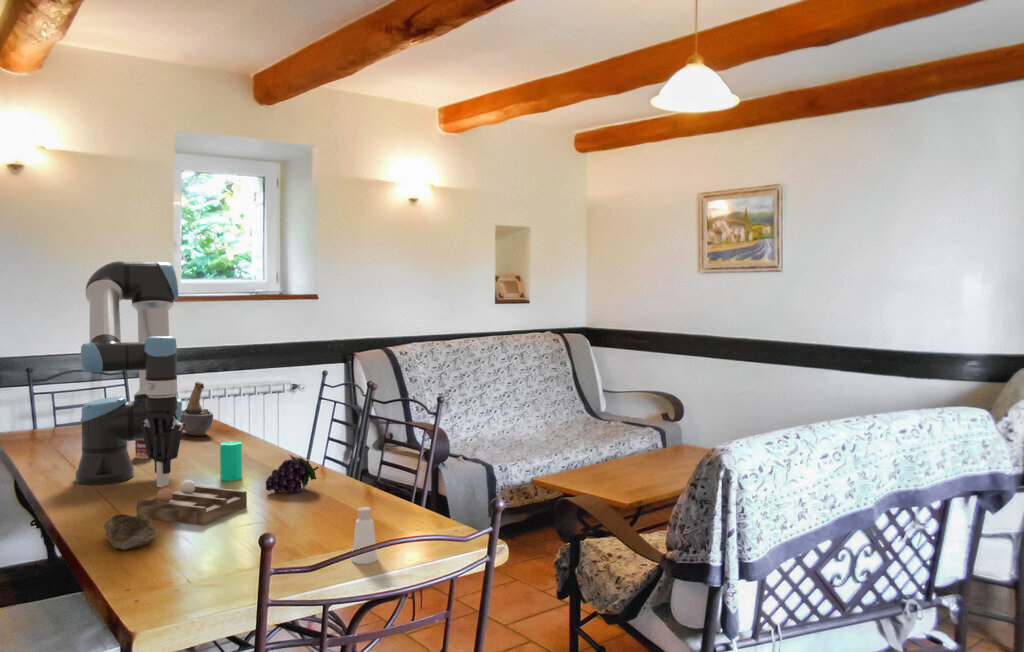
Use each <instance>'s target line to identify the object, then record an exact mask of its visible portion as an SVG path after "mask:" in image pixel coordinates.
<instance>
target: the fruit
mask: <svg viewBox="0 0 1024 652" xmlns="http://www.w3.org/2000/svg"><path fill="white" fill-rule="evenodd" d="M289 457H290V458H291V459H287V460H286V459H285V460H284V461H283V462H282V464H280V465H279V466H278V468H277V469H273V470H272V471H271V475H269V476H268V477H267V478H266V480H265V490H266V491H268V492H270V491H274V492H276V493H280V492H286V493H290V492H291V491H293V493H300V492H301V490H302V489H305V488H306V486H308V483H309V480H311V481H314V480H317V476H316V471H317V470H318V469H319V468H320V467H318V466H316V467H314V468H313V467H312V465H311V464H310V461H309V459H308V460H305V459H304V458H302V457H301V456H299V457H298V456H296V457H295V456H294V455H291V454H289Z"/></svg>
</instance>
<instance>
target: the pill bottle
mask: <svg viewBox="0 0 1024 652" xmlns="http://www.w3.org/2000/svg"><path fill="white" fill-rule="evenodd" d="M134 445H135V449H134V451H135V453H134V454H135V455H134V456H135V459H141V460H143V459H144V460H145V459H149V458H148V455H147V451H146V446H145V441H144V440H135V442H134ZM152 453H153V452H152Z"/></svg>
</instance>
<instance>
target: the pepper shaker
mask: <svg viewBox="0 0 1024 652" xmlns="http://www.w3.org/2000/svg"><path fill="white" fill-rule="evenodd" d="M371 516H372V508H371V507H369V506H361V507H358V508H357V518H356V520H355V524H354V535H353V542H352V551H353V550H356V549H360V548H363V547H366V546H369V545H372V544H375V543H376V533H375V523H374V519H373V518H371ZM376 544H377V543H376ZM377 559H378V552H377V549H376V550H375V551H372V552H369V553H366V554H363V555H360V556H357V557H354V558H352V557H351V562H352V563H355V564H357V565H369V564H373V563H376V561H377Z"/></svg>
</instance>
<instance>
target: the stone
mask: <svg viewBox="0 0 1024 652" xmlns="http://www.w3.org/2000/svg"><path fill="white" fill-rule="evenodd" d="M103 529H104V531H105V537H106V538H107V539H108V540H109V542H110V545H112V547H113V548H115V549H116V550H122V551H126V550H132V549H136V548H139V547H141V546H146V545H148V544H149V543H150V542H151V541H152V540H153V539H154V538H156V536H157V535H158V529H157V527H156V526H155V525H153V524H152V521H151V520H149V518H144V517H142V516H137V515H136V516H133V515H130V514H129V515H128V514H126V513H119V514H114V516H112V517H111V518H109V519H108V520H107V521H106V523H105V524H104V526H103Z"/></svg>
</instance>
